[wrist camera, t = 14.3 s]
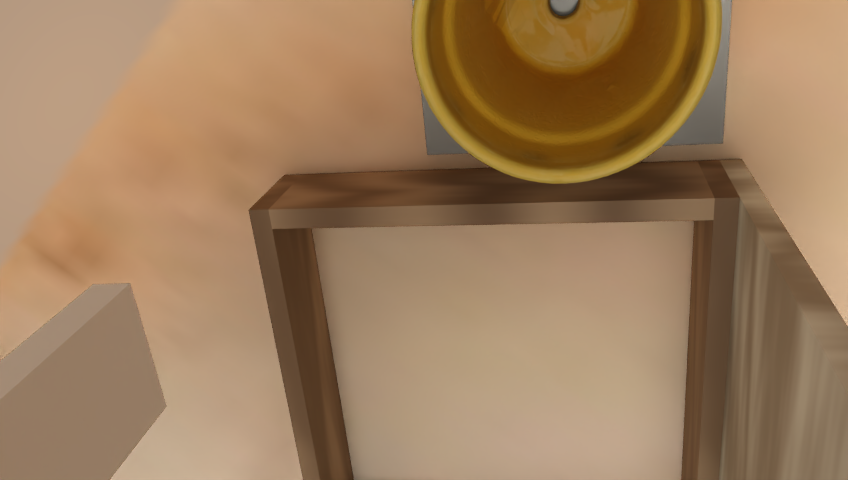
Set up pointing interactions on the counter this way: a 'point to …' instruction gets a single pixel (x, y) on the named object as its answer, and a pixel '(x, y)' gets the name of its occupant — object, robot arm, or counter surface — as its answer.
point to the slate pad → (696, 130)
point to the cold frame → (590, 203)
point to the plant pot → (564, 79)
